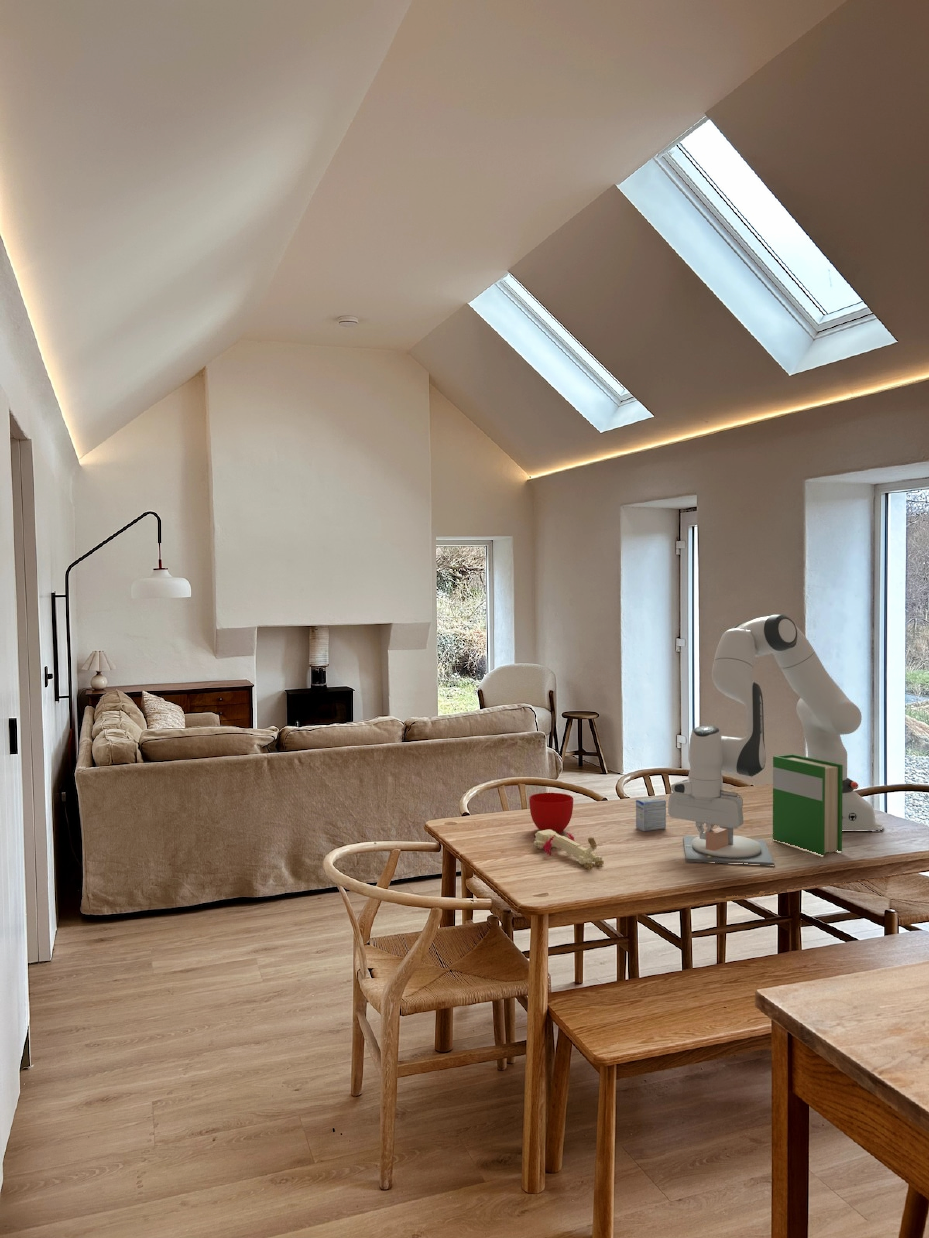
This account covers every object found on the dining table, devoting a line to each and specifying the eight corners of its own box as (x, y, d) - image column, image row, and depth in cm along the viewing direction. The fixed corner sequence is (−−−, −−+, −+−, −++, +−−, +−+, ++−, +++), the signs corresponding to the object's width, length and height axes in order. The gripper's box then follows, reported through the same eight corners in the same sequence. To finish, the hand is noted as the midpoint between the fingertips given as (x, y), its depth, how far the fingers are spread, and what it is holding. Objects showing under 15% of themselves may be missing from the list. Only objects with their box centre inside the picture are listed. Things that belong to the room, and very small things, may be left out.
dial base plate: (763, 842, 256) (763, 838, 256) (774, 866, 235) (774, 861, 235) (683, 838, 261) (683, 834, 261) (686, 862, 239) (686, 857, 239)
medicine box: (657, 825, 276) (657, 796, 275) (666, 828, 272) (666, 800, 271) (635, 828, 273) (635, 799, 272) (643, 831, 269) (643, 802, 268)
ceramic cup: (572, 822, 280) (572, 789, 280) (573, 837, 263) (573, 803, 263) (530, 821, 281) (530, 789, 281) (528, 836, 264) (528, 802, 264)
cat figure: (609, 869, 238) (551, 839, 259) (611, 837, 237) (553, 809, 258) (579, 876, 233) (523, 844, 254) (581, 843, 232) (524, 814, 253)
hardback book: (841, 853, 246) (842, 764, 245) (821, 857, 243) (822, 767, 242) (792, 837, 262) (792, 753, 261) (772, 840, 258) (773, 756, 258)
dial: (713, 834, 260) (713, 813, 260) (773, 847, 248) (773, 825, 247) (679, 847, 248) (679, 826, 247) (740, 861, 235) (740, 838, 235)
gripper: (747, 791, 240) (747, 843, 241) (676, 780, 253) (675, 830, 254) (737, 795, 235) (737, 848, 236) (665, 784, 248) (665, 834, 249)
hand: (704, 838), depth 245 cm, fingers closed
